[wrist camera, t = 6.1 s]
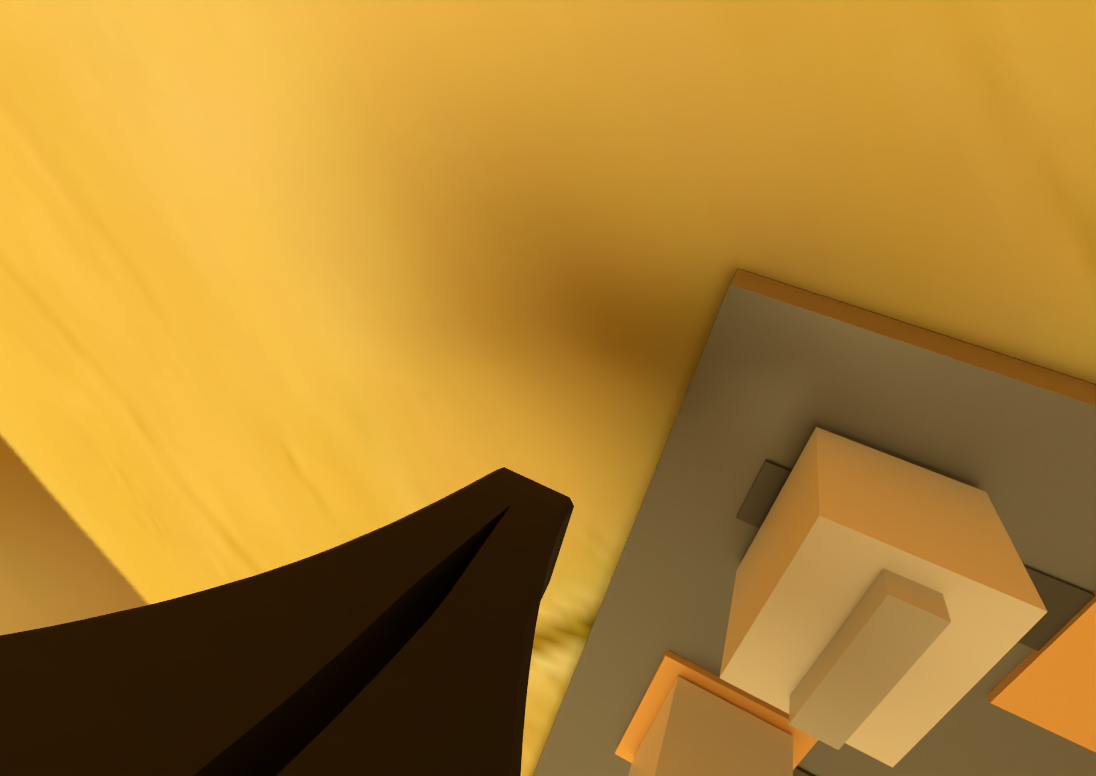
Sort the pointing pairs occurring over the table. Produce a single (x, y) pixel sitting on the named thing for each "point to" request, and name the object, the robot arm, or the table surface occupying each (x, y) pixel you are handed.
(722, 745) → the switch
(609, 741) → the switch board
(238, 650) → the robot arm
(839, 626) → the switch
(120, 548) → the table surface
